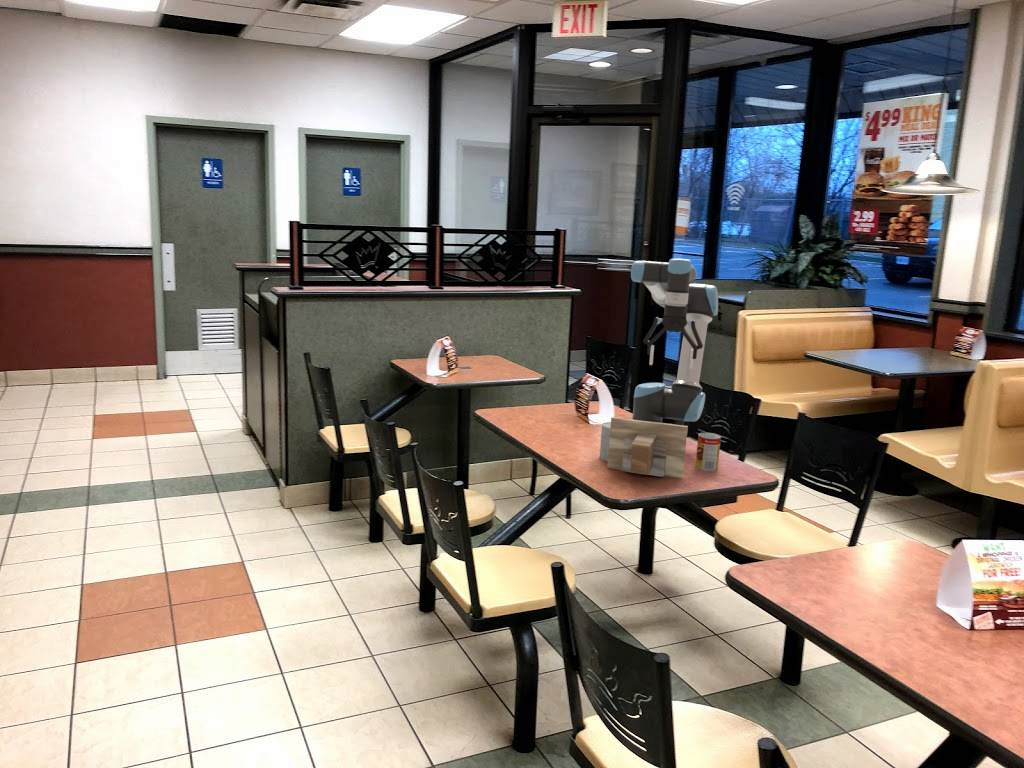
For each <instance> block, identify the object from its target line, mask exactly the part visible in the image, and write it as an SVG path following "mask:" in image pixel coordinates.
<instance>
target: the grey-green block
mask: <svg viewBox="0 0 1024 768" xmlns="http://www.w3.org/2000/svg"><path fill="white" fill-rule="evenodd" d="M610 428H611V421H610V422H609V421H608V422H603V423H601V432H600V433H601V434H600V448H599V456H598V457H599V459H600V460H601V461H605V462H608V454H609V441H610Z"/></svg>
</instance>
